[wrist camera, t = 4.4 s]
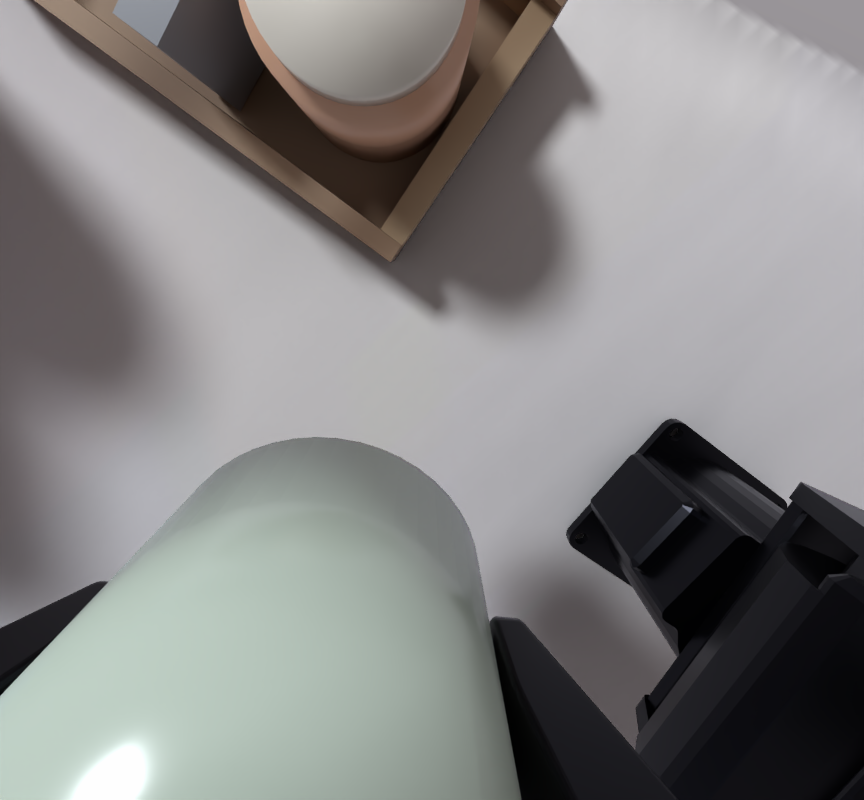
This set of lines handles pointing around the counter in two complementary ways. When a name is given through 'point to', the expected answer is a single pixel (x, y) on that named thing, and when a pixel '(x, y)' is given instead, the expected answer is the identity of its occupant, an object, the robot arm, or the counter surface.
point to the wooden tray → (307, 147)
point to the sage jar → (276, 649)
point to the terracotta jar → (367, 66)
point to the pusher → (200, 41)
